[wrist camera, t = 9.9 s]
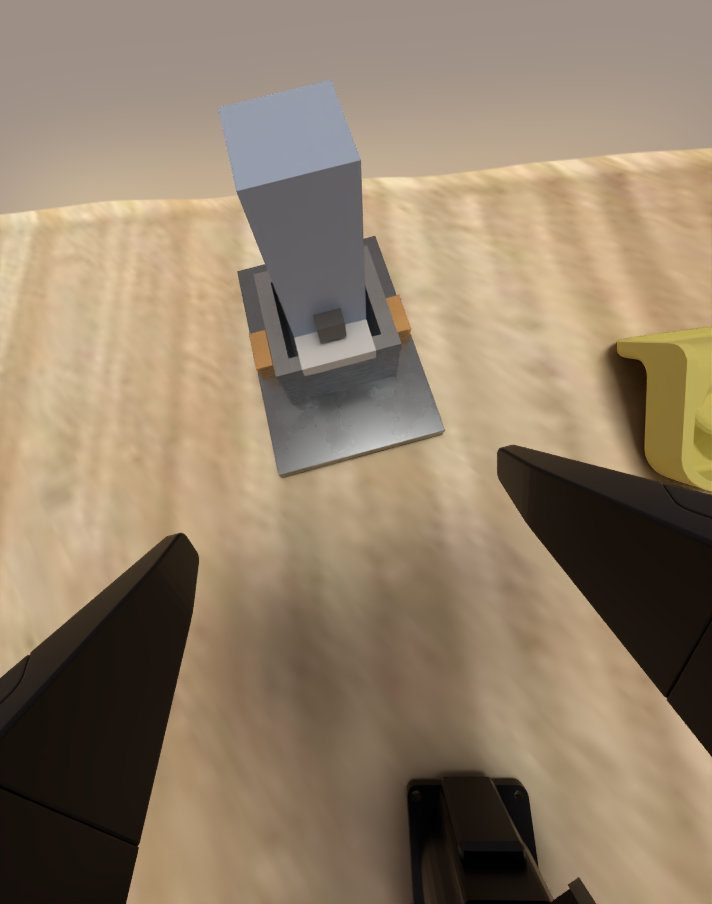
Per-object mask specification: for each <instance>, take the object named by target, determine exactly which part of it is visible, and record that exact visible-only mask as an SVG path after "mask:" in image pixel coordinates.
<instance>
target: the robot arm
mask: <svg viewBox="0 0 712 904" xmlns="http://www.w3.org/2000/svg"><path fill="white" fill-rule="evenodd" d="M497 475H498V478H499V480H500V482H501V484H502V485H503V487H504V488H505V490H506V492H507V493H508V495H509V496H510V498H511V500H512V501H513V503H514V504H515V506H516V508H517V509H518V511H519V512H520V514H521V516H522V517H523V519H524V520H525V522H526V523H527V524H528V526H529V527H530V528H531V530H532V531H533V532H534V534H535V535H536V536H537V537H538V539H539V540H540V541H541V542H542V544H543V545H544V546H545V547H546V549H547V550H548V551H549V552H550V554H551V555H552V556H553V557H554V559H555V560H556V561H557V562H558V564H559V565H560V566H561V568H562V569H563V570H564V571H565V573H566V574H567V575H568V576H569V578H570V579H571V580H572V581H573V583H574V584H575V585H576V586H577V588H578V589H579V590H580V591H581V593H582V594H583V595H584V596H585V598H586V599H587V600H588V601H589V603H590V604H591V605H592V606H593V608H594V609H595V610H596V611H597V613H598V614H599V615H600V617H601V618H602V619H603V620H604V622H605V623H606V624H607V625H608V627H609V628H610V629H611V630H612V632H613V633H614V634H615V635H616V637H617V638H618V639H619V640H620V642H621V643H622V644H623V645H624V647H625V648H626V649H627V650H628V652H629V653H630V654H631V655H632V657H633V658H634V659H635V660H636V662H637V663H638V664H639V666H640V667H641V668H642V669H643V671H644V672H645V673H646V674H647V676H648V677H649V678H650V679H651V681H652V682H653V683H654V684H655V686H656V687H657V688H658V689H659V691H660V692H661V693H662V694H663V696H664V697H666V698H667V701H668V702H669V704H670V705H671V706H672V707H673V709H674V710H675V711H676V712H677V714H678V715H679V716H680V717H681V719H682V720H683V721H684V722H685V724H686V725H687V726H688V727H689V729H690V730H691V731H692V733H693V734H694V735H695V736H696V738H697V739H698V740H699V741H700V743H701V744H702V745H703V746H704V748H705V749H706V750H707V751H708V753H709V754H710V755H711V756H712V495H710V494H705V493H701V492H697V491H693V490H689V489H685V488H681V487H677V486H673V485H670V484H662V483H661V482H658V481H654V480H650V479H646V478H642V477H638V476H634V475H630V474H626V473H622V472H619V471H615V470H611V469H607V468H603V467H599V466H595V465H591V464H587V463H583V462H579V461H576V460H572V459H568V458H564V457H560V456H556V455H552V454H548V453H544V452H540V451H537V450H533V449H529V448H525V447H521V446H517V445H509V446H505V447H501V448H499V450H498V452H497ZM198 566H199V556H198V553H197V551H196V550H195V548H194V547H193V545H192V544H191V542H190V541H189V539H188V538H187V536H186V535H185V534H184V533H177V534H174V535H170V536H167V537H165V538H164V539H163V540H162V541H161V542H159V543H158V544H157V545H156V546H155V547H154V548H152V549H151V550H150V551H149V552H148V553H147V554H145V555H144V556H143V557H142V558H141V559H139V560H138V561H137V562H136V563H135V564H134V565H132V566H131V567H130V568H129V569H128V570H127V571H125V572H124V573H123V574H122V575H121V576H120V577H118V578H117V579H116V580H115V581H114V582H113V583H111V584H110V585H109V586H108V587H107V588H105V589H104V590H103V591H102V592H101V593H100V594H98V595H97V596H96V597H95V598H94V599H93V600H91V601H90V602H89V603H88V604H87V605H86V606H84V607H83V608H82V609H81V610H80V611H79V612H77V613H76V614H75V615H74V616H73V617H71V618H70V619H69V620H68V621H67V622H66V623H64V624H63V625H62V626H61V627H60V628H59V629H57V630H56V631H55V632H54V633H53V634H52V635H50V636H49V637H48V638H47V639H46V640H45V641H43V642H42V643H41V644H40V645H39V646H37V647H36V648H35V649H34V650H33V651H32V652H31V653H30V655H27V656H26V657H24V658H23V659H22V660H21V661H20V662H19V663H17V664H16V665H15V666H14V667H13V668H12V669H10V670H9V671H8V672H7V673H6V674H4V675H3V676H2V677H1V678H0V904H126V901H127V897H128V893H129V888H130V884H131V880H132V875H133V871H134V867H135V862H136V858H137V854H138V849H139V847H138V845H139V843H140V839H141V835H142V831H143V826H144V822H145V818H146V814H147V809H148V805H149V801H150V796H151V792H152V788H153V783H154V779H155V775H156V770H157V766H158V762H159V757H160V753H161V749H162V744H163V740H164V736H165V731H166V727H167V723H168V718H169V714H170V710H171V705H172V701H173V697H174V692H175V688H176V684H177V679H178V675H179V671H180V666H181V662H182V658H183V653H184V649H185V645H186V640H187V636H188V632H189V627H190V623H191V618H192V613H193V607H194V599H195V591H196V583H197V575H198ZM518 790H519V791H521V794H520V795H519V796H517V797H516V796H514V793H515V792H516V791H518ZM414 791H419V792H420V794H419V796H413V795H412V793H413V792H414ZM407 805H408V822H409V839H410V856H411V873H412V890H413V904H596V903H595V901H594V900H593V898H592V897H591V895H590V894H589V892H588V890H587V889H586V887H585V886H584V884H583V883H582V881H581V880H580V878H579V877H578V878H577V879H575V880H574V881H572V882H571V883H570V884H568V886H569V888H570V889H569V890H567V891H566V892H565V893H563V894H562V895H560V896H559V897H557V898H556V899H555V900H554V899H553V897H552V895H551V893H550V891H549V889H548V887H547V885H546V883H545V881H544V879H543V877H542V875H541V873H540V871H539V868H538V861H537V854H536V846H535V839H534V832H533V825H532V817H531V810H530V803H529V796H528V793H527V791H526V789H525V787H524V786H523V784H522V783H521V782H520V781H518V780H491V779H490V778H488V777H445V778H444V779H443V780H412V781H411V782H409V784H408V786H407Z"/></svg>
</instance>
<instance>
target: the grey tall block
mask: <svg viewBox="0 0 712 904" xmlns="http://www.w3.org/2000/svg"><path fill="white" fill-rule="evenodd" d="M219 113H220V117H221V122H222V127H223V131H224V136H225V141H226V145H227V150H228V155H229V159H230V164H231V168H232V173H233V178H234V182H235V187H236V191H237V194H238V197H239V199H240V202H241V204H242V207H243V209H244V212H245V214H246V217H247V219H248V222H249V224H250V227H251V229H252V232H253V234H254V237H255V240H256V242H257V245H258V247H259V250H260V252H261V255H262V257H263V260H264V262H265V265H266V267H267V270H268V272H269V275H270V277H271V280H272V283H273V285H274V288H275V290H276V293H277V295H278V298H279V300H280V303H281V305H282V308H283V310H284V313H285V315H286V318H287V321H288V323H289V326H290V328H291V331H292V333H293V336H294V339H295V343H296V347H297V351H298V355H299V359H300V363H301V368H302V371H303V373H304V376H308V375H312V374H316V373H320V372H324V371H328V370H331V369H335V368H339V367H343V366H347V365H351V364H354V363H358V362H362V361H366V360H370V359H373V358H376V349H375V346H374V342H373V339H372V336H371V333H370V330H369V327H368V323H367V320H366V301H365V271H364V240H363V210H362V180H361V159H360V156H359V154H358V151H357V148H356V146H355V143H354V140H353V138H352V135H351V132H350V129H349V127H348V124H347V121H346V119H345V116H344V113H343V111H342V108H341V105H340V103H339V100H338V97H337V94H336V92H335V89H334V86H333V84H332V81H331V80H329V81H325V82H320V83H317V84H312V85H308V86H304V87H300V88H297V89H292V90H288V91H284V92H280V93H276V94H272V95H268V96H264V97H259V98H255V99H252V100H247V101H243V102H239V103H235V104H231V105H227V106H223V107H219Z"/></svg>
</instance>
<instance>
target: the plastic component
mask: <svg viewBox="0 0 712 904" xmlns="http://www.w3.org/2000/svg"><path fill="white" fill-rule="evenodd" d="M617 352H618V354H619V355H620V356H622V357H624V358H630V359H638V360H640V361H641V362H642V363H643V364H644V366H645V368H646V371H647V395H646V420H645V446H644V450H645V456H646V458H647V461H648V463H649V464H650V466H651V467H652V468H653V469H654V470H655V471H656V472H657V473H659V474H661V475H662V476H664V477H667V478H670V479H673V480H676V481H679V482H683V483H686V484H689V485H692V486H695V487H698V488H702V489H705V490H708V491H712V326H711V327H704V328H696V329H689V330H681V331H674V332H667V333H659V334H652V335H644V336H637V337H630V338H624V339H620V340H618V341H617Z"/></svg>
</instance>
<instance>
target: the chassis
mask: <svg viewBox="0 0 712 904" xmlns="http://www.w3.org/2000/svg"><path fill="white" fill-rule="evenodd" d="M363 240H364V271H365V301H366V320H367V323H368V327H369V330H370V333H371V336H372V339H373V342H374V346H375V349H376V358H373V359H370V360H366V361H362V362H358V363H354V364H351V365H347V366H343V367H339V368H335V369H331V370H328V371H324V372H320V373H316V374H312V375H308V376H304V373H303V371H302V368H301V363H300V359H299V355H298V351H297V347H296V343H295V339H294V336H293V333H292V331H291V328H290V326H289V323H288V321H287V318H286V315H285V313H284V310H283V308H282V305H281V303H280V300H279V298H278V295H277V293H276V290H275V288H274V285H273V283H272V280H271V277H270V275H269V272H268V270H267V267H266V265H265V264H264V265H260V266H257V267H253V268H249V269H245V270H241V271H237V272H238V277H239V282H240V287H241V292H242V297H243V302H244V307H245V312H246V317H247V322H248V327H249V331H250V334H249V336H250V341H251V346H252V351H253V356H254V360H255V365H256V370H257V371H258V376H259V381H260V386H261V391H262V395H263V400H264V405H265V410H266V415H267V420H268V425H269V430H270V435H271V440H272V445H273V450H274V455H275V460H276V464H277V469H278V474H279V476H281V477H286V476H290V475H294V474H298V473H301V472H305V471H309V470H312V469H316V468H320V467H323V466H327V465H331V464H334V463H338V462H342V461H346V460H349V459H353V458H357V457H360V456H364V455H368V454H371V453H375V452H379V451H383V450H386V449H390V448H394V447H397V446H401V445H405V444H408V443H412V442H416V441H419V440H423V439H427V438H431V437H434V436H438V435H442V434H443V432H444V431H445V428H444V425H443V423H442V420H441V417H440V414H439V412H438V409H437V406H436V403H435V400H434V398H433V395H432V392H431V389H430V387H429V384H428V381H427V378H426V376H425V373H424V370H423V367H422V364H421V362H420V359H419V356H418V353H417V351H416V348H415V345H414V342H413V340H412V337H411V334H410V332H411V327H410V324H409V321H408V319H407V316H406V313H405V310H404V308H403V305H402V302H401V299H400V297H399V295H396V292H395V290H394V287H393V284H392V281H391V279H390V276H389V273H388V270H387V267H386V265H385V262H384V259H383V256H382V254H381V251H380V248H379V245H378V243H377V240H376V237H375V236H373V237H369V238H365V239H363Z"/></svg>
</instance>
